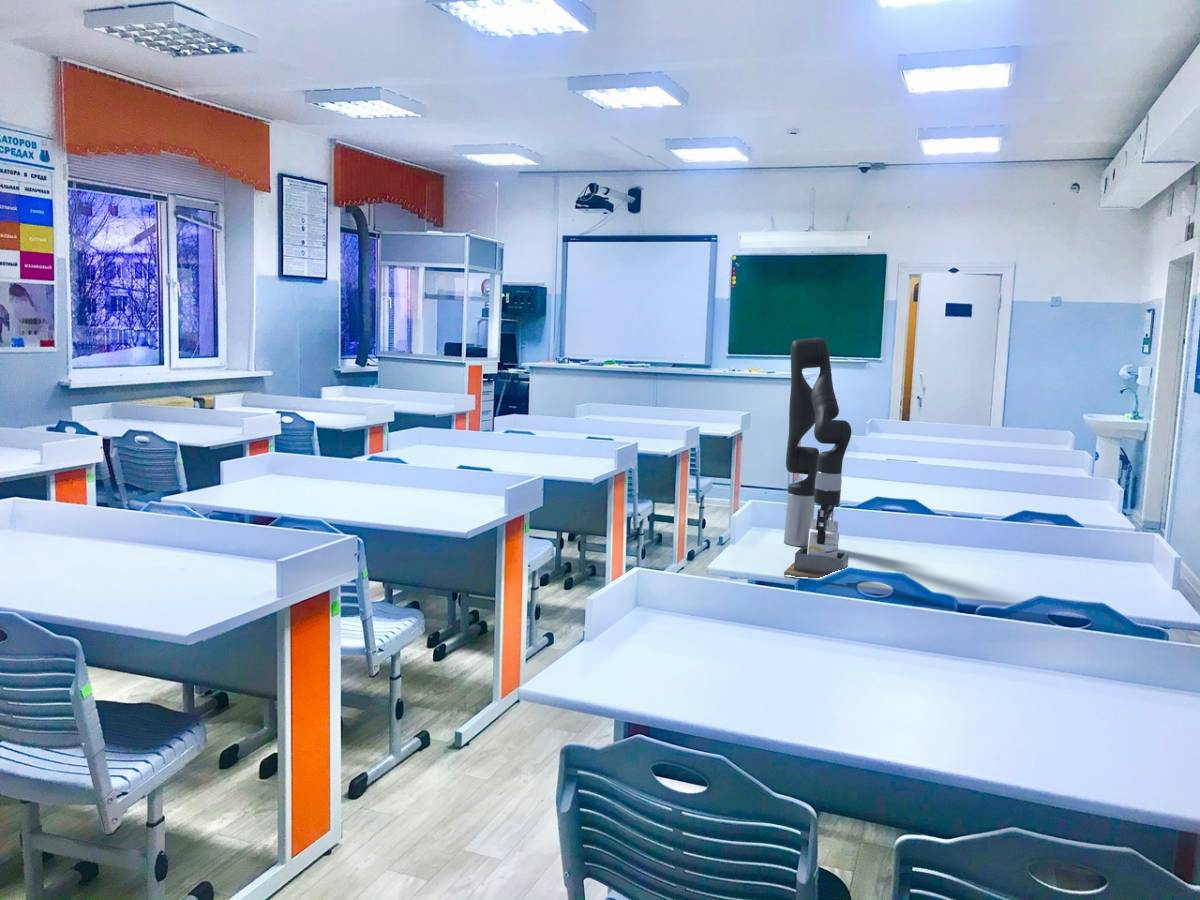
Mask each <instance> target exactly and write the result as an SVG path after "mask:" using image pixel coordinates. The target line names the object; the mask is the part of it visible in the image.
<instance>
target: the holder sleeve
mask: <svg viewBox="0 0 1200 900" xmlns="http://www.w3.org/2000/svg"><path fill="white" fill-rule="evenodd" d="M807 550H808V547H806V546H801V548H800V549H798V550H797V551H796V552H795V554H794V562H795V563H794V562H793V563H794V570H798V571H805V572H812V573H819V574H825V575H828V574H830V573H832V572H835V571H838V570H842V569H845V568H847V567H849V556H850V553H847V552H840V551H838V553H837V558H831V557H823V556H816V555H809V554H807Z"/></svg>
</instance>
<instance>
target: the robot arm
mask: <svg viewBox="0 0 1200 900" xmlns="http://www.w3.org/2000/svg"><path fill="white" fill-rule="evenodd" d="M827 344H828V343H827V342H826V340H825V339H824V338H822V337H811V338H810V337H809V338H799V339H795V340H793V341H792V343H791V347H790V382H791V383H790V394H789V395H790V397H789V406H788V407H789V410H788V437H787V439H788V440H787V448H786V456H785V468H786V470H787V472H788V473H791V474H797V475H798V474H800V475H807V476H806V477H805V478H804V479H802V480H800V481H797V482H793V483H790V484H788V487H787V498H786V500H787V501H786V509H785V510H786V511H785V524H784V534H783V535H784V537H783V544H785V545H790V546H793V547H794V546H795V547H808V539H809V530H810V526H811V520H812V519H815V518H814V517H815V505H816V504H817V505H820V508H819V509H818V510H817V516H816V519H817V525H816V530H817V531H818V535H817V544H821V545H824V544H825V535H826V530H827V526H829V522H830V521H834V514H835V513H834V512H835V506H839V504H840V502H841V493H842V481H843V480H842V479H843V478H842V477H843V476H842V473H843V461H844V457H845V453H846V451H847V448H848V446H849V443H850V440H851V437H852V426H851V424H850V422H848V421H847V420H844V419H843V420H842V419H841V420H840V419H836V418H837V417H838V416H839V414H840V407H839V404H838V400H837V398H836V394H835V390H834V385H833V384H834V383H833V375H832V374H833V373H832V367H831V359H830V353H829V352H830V351H829V348H828V345H827ZM813 368H814V369H815V368H819V374H818V376H817V379H816V381H815V382H814V385H813V387H811V386H810V384H808V382H807V380H806V379H805V376H804V374H803V370H805V369H813ZM813 427H814V429H813V434H814V437H815V440H816V441H817V442H818V443H820V444H825V445H828V444H829V445H833V447H832V449H830V450H826V451H821V452H820V451H819V449H818V448H817V447H813V446H812V447H811V446H800V445H799V443H800V442H801V440H802V439H803V437H804V436H805V434H807V433H808V432H809V431H810V430H811V429H812V428H813ZM820 525H821V526H820ZM822 526H823V527H822Z"/></svg>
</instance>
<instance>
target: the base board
mask: <svg viewBox="0 0 1200 900" xmlns="http://www.w3.org/2000/svg"><path fill="white" fill-rule="evenodd" d="M794 563H795V561H793V563H792V564H791V565H790V566H789V567H788V568H786V569H785V571H784V572H783V576H784V575H791V576H795V577H808V578H820V577H823V576H825V574H819V573H812V572H805V571H798V570H794Z"/></svg>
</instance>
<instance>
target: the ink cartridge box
mask: <svg viewBox="0 0 1200 900" xmlns="http://www.w3.org/2000/svg"><path fill="white" fill-rule="evenodd" d="M816 525H817V518H816V519H815V518H814V519H812V520H811V526H810V530H809V539H808V546H807V548H808V550H807V554H809V555H816V556H823V557H831V558H837V553H838V552H839V542H840V541H839V540H840V533H839V529H838V528H839V521H837V520H833V521H830V522H829V526H827V530H826V535H825V544H824V545H821V544H817V535H818V531H817V530H816ZM820 526H822V527H823V525H820Z"/></svg>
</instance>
